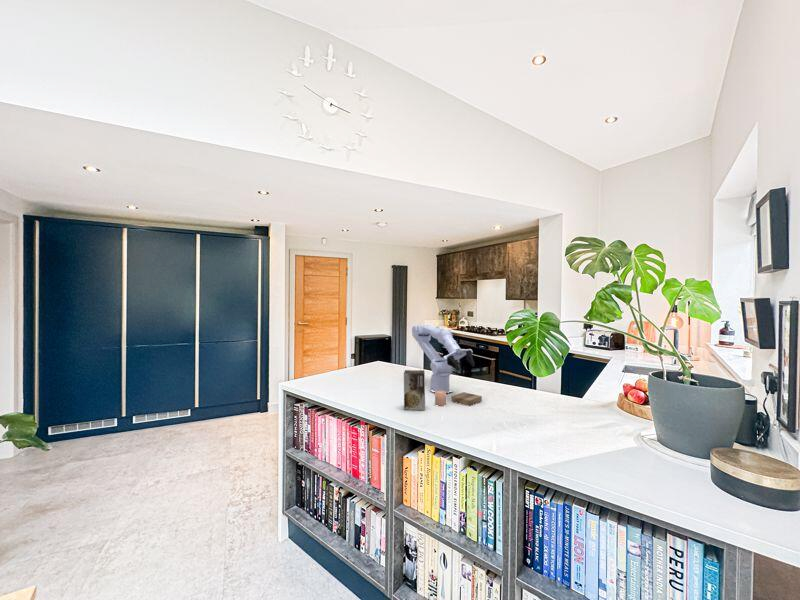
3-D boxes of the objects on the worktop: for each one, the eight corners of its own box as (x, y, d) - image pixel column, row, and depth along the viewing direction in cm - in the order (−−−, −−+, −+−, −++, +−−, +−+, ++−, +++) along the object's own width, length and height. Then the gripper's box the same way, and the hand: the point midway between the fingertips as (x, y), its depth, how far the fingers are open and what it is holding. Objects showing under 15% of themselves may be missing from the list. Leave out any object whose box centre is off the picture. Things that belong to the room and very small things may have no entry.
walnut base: (451, 401, 164) (451, 396, 164) (463, 397, 171) (463, 392, 171) (469, 406, 157) (469, 400, 157) (481, 401, 164) (481, 396, 164)
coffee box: (425, 406, 158) (425, 370, 157) (424, 410, 151) (424, 373, 151) (404, 405, 158) (404, 369, 158) (403, 410, 152) (403, 372, 152)
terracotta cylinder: (432, 404, 160) (432, 391, 160) (439, 402, 163) (439, 389, 163) (441, 407, 156) (441, 393, 156) (448, 404, 160) (448, 391, 160)
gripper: (439, 345, 167) (452, 365, 157) (467, 338, 171) (481, 357, 160) (438, 356, 171) (451, 376, 161) (465, 348, 175) (479, 367, 165)
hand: (466, 367), depth 161 cm, fingers open, 7 cm apart
